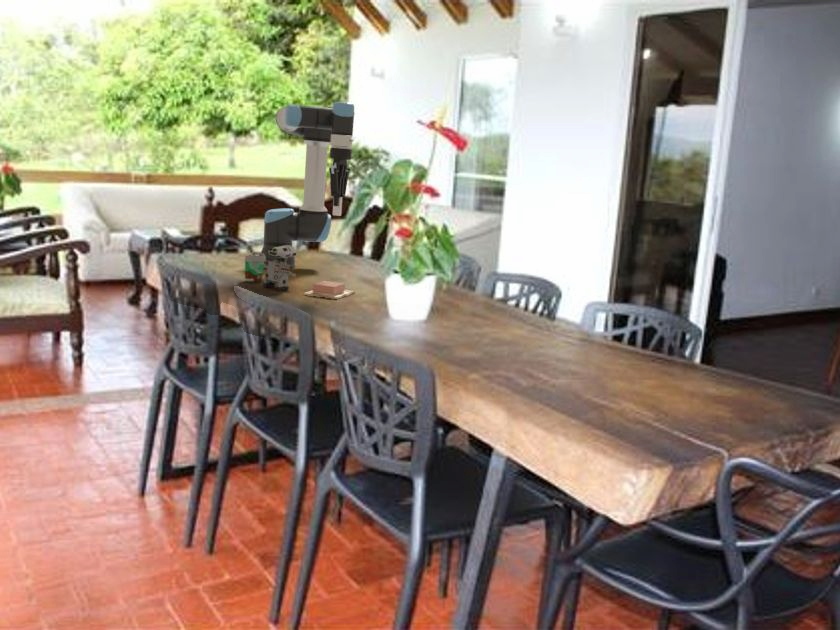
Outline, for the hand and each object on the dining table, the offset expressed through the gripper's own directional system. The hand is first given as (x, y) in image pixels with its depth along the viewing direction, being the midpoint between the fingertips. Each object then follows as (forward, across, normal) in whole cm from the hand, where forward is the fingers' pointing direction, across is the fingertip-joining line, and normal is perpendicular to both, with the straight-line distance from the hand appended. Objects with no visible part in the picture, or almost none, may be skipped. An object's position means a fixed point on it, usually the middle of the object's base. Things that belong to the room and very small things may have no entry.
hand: (336, 215), depth 297 cm
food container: (+27, -7, +27) cm, 39 cm away
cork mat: (+26, -11, -4) cm, 29 cm away
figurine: (+27, -13, +14) cm, 33 cm away
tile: (+24, -8, -4) cm, 25 cm away
